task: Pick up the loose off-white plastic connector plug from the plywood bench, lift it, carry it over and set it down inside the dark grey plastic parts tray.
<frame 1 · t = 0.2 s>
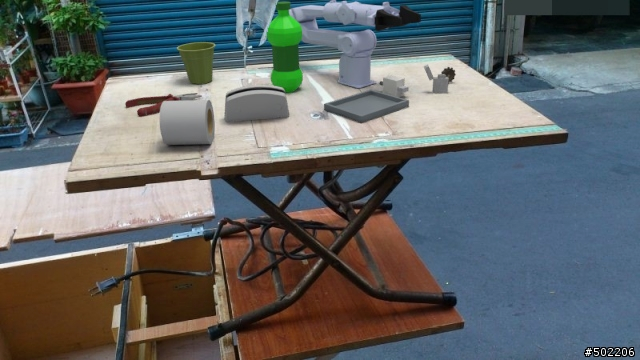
hand: (410, 20, 142), 21 cm above the table, tool horizontal, fingers open, 7 cm apart
plastic bottle: (287, 90, 161), on the table
plug: (393, 95, 154), on the table
gear: (447, 84, 163), on the table
tray: (366, 108, 143), on the table
plant pot: (200, 82, 171), on the table
lighter: (434, 93, 155), on the table
toilet paper: (191, 143, 125), on the table
pliers: (165, 108, 149), on the table
grey napkin holder: (257, 119, 139), on the table
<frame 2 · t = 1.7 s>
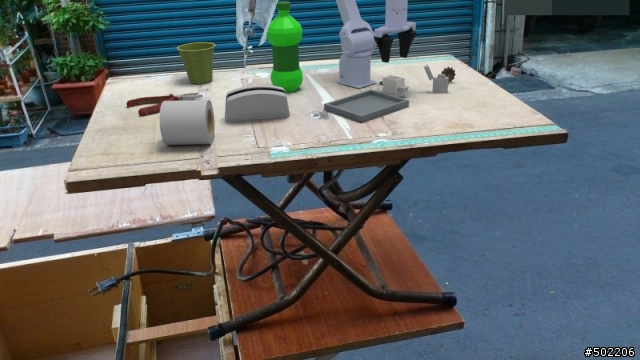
hand: (394, 59, 149), 10 cm above the table, tool pointing down, fingers open, 7 cm apart
nothing on the table moved.
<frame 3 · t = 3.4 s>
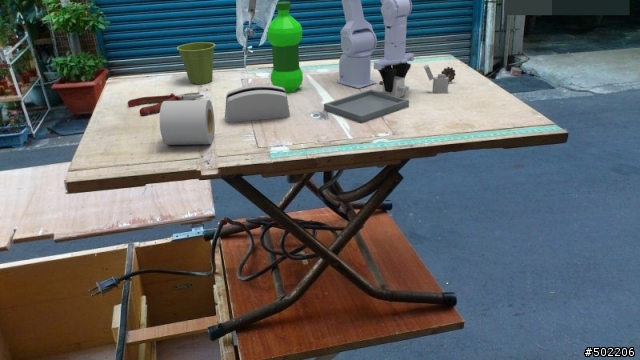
hand: (393, 89, 153), 1 cm above the table, tool pointing down, fingers closed on plug, 3 cm apart
plug: (393, 94, 154), on the table, touching gripper
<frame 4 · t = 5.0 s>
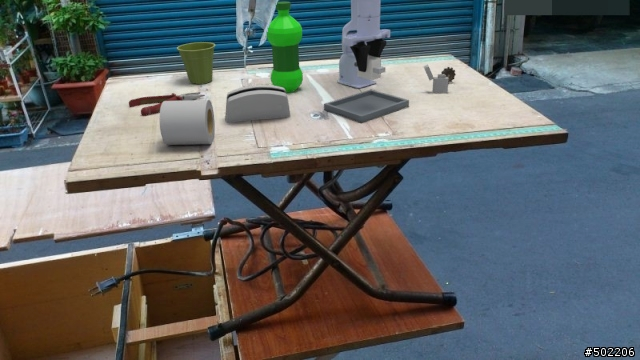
hand: (367, 69, 139), 10 cm above the table, tool pointing down, fingers closed on plug, 3 cm apart
plug: (369, 76, 139), point 9 cm above the table, touching gripper
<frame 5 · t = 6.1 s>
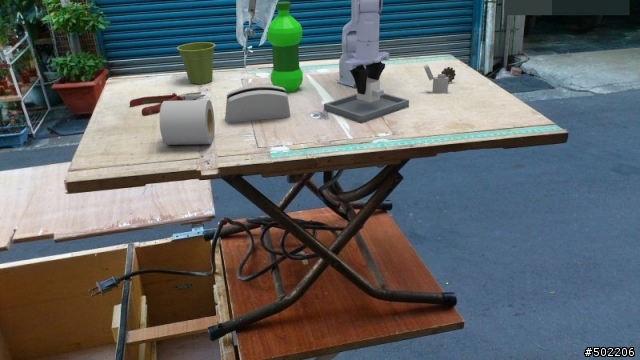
hand: (366, 91, 141), 5 cm above the table, tool pointing down, fingers closed on plug, 3 cm apart
plug: (368, 98, 142), point 3 cm above the table, touching gripper
when the fingers open (3 cm above the table, at t = 6.8 s): plug stays where it is, resting on tray.
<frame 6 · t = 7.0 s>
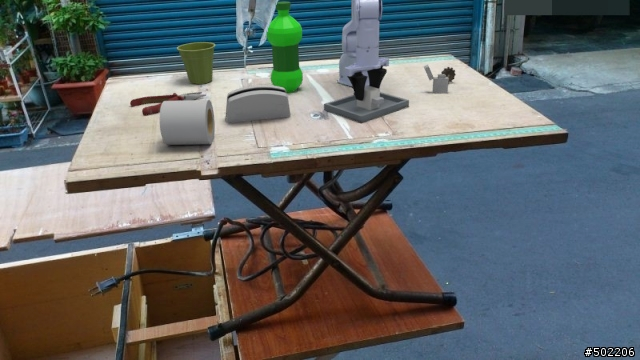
hand: (366, 97, 142), 3 cm above the table, tool pointing down, fingers open, 5 cm apart
plug: (368, 106, 143), point 1 cm above the table, touching tray
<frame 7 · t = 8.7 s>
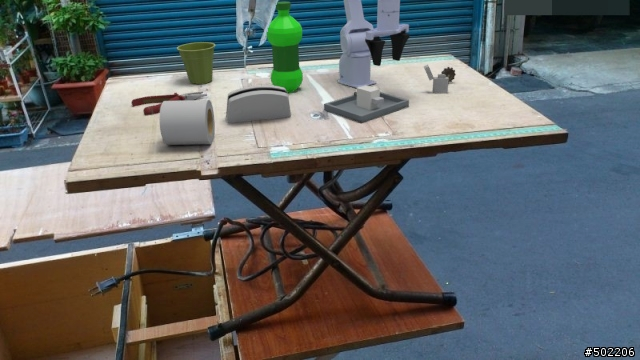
hand: (386, 62, 145), 10 cm above the table, tool pointing down, fingers open, 7 cm apart
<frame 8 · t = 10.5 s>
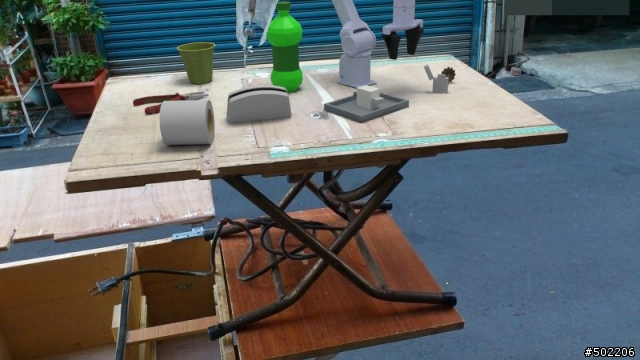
hand: (402, 56, 151), 10 cm above the table, tool pointing down, fingers open, 7 cm apart
at the end: plug inside the target area on the tray (0.5 cm from its centre), point 0.6 cm above the tray's base; the gripper is holding nothing; plug moved 14.4 cm from its start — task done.
